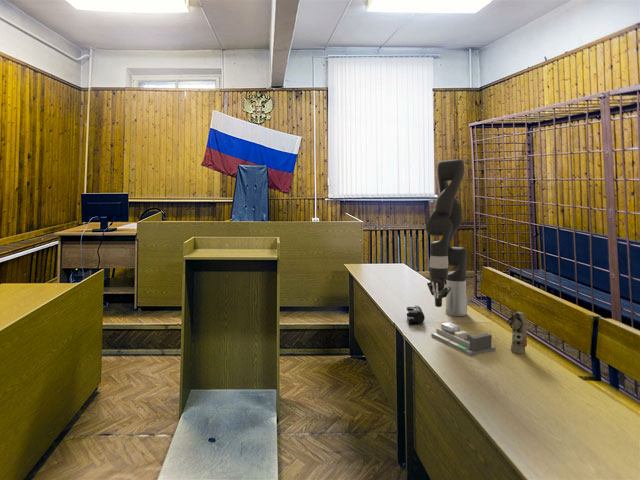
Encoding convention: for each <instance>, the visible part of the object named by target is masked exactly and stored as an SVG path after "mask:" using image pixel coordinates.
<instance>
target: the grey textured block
mask: <svg viewBox="0 0 640 480" xmlns="http://www.w3.org/2000/svg"><path fill="white" fill-rule="evenodd" d="M440 326H441V327H440V329H442V330H444V331H446V332H448V333H450V334H452V335H454V334H455V332H460V330H461V326H460V325H457V324H455V323H453V322H451V321H449V322H444V323H441V325H440Z"/></svg>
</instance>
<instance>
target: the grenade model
mask: <svg viewBox="0 0 640 480" xmlns="http://www.w3.org/2000/svg"><path fill="white" fill-rule="evenodd" d="M513 313H514V314H513V315H512V316H510V317H509V318H508V319H507V321H506V322H507V324H508V325H509V326H510V328H511V330H512V335H511V336H512V337H511V345H510V352H512V353H513V354H517V355H523V354H525V353H526V347H527V346H528V342H527V341H528V340H527V339H528V337H527V318H526V315H525V312H522V311H519V310H517V311H514V312H513Z"/></svg>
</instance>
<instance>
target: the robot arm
mask: <svg viewBox="0 0 640 480" xmlns="http://www.w3.org/2000/svg"><path fill="white" fill-rule="evenodd" d="M464 173H465V165H464V161H463V160H462V159H450V160H449V159H448V160H440V161H439V162H438V164H437V178H438V186H439V188H438V189H439V195H438V196H437V198H436V202H435V206H434V209H433V212H432V213H431V215H430V216H429V218H428V219H427V222H426V224H425V231H426V233H427V235H429V236H434V237H435V236H436V237H441V239H440V240H436V241H432V242H431V243H430V245H429V246H430V249H429V250H430V251H429V252H430V253H429V254H430V255H429V256H430V257H429V277H430V282H427V283H426V285H427V287H428V289H429V292H430V294H431V295H432V296H433V297H434V306H435V307H437V308H440V307H442V306H443V299H444V298H445V314H446V315H448V316H451V317H463V316H465V315H468V295H467V281H466V280H467V263H468V262H467V261H468V251H467V248H465V247H461V246H451V245H452V244H451V243H452V240H453V237H454V235H455V234H456V232H457V231H458V229H459V228H460V227H461V224H462V222H463V215H462V213H463V210H462V209H463V208H462V206H461V203H459V200H457V199H456V196H457V192H458V191H459V188H460V186H461V183H462V180H463V177H464ZM449 181H451V182H450V183H449V184H448V182H449ZM449 266H450V267H457V269H456V270H454V271H449Z"/></svg>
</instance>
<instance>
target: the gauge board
mask: <svg viewBox="0 0 640 480" xmlns="http://www.w3.org/2000/svg"><path fill="white" fill-rule="evenodd" d="M435 330H436V331H435V332H431V333H430V334H431V335H430V336H431V337H432V338H433V339H435V340H438V341H440V342H442V343H444V344H446V345H448V346H449V347H452V348H454V349H456V350H458V351H460V352H461V353H463V354H465V355H467V356H470V357H473V356H478V355H481V354H487V353H491V352H494V351H496V350H497V348H496V347H495V346H494V345H492V344H493V343H492V339H493V337H492V334H491V333H487V332H486V333H479V334H475V335H474V334H471V333H469V332H467V339H466V340H463V339H461V338H459V337H457V336H455V335H452V334H450V333H448V332H446V331H444V330H442V329H441V328H439V327H437V328H436V329H435ZM460 331H463V330H462V329H460Z"/></svg>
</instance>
